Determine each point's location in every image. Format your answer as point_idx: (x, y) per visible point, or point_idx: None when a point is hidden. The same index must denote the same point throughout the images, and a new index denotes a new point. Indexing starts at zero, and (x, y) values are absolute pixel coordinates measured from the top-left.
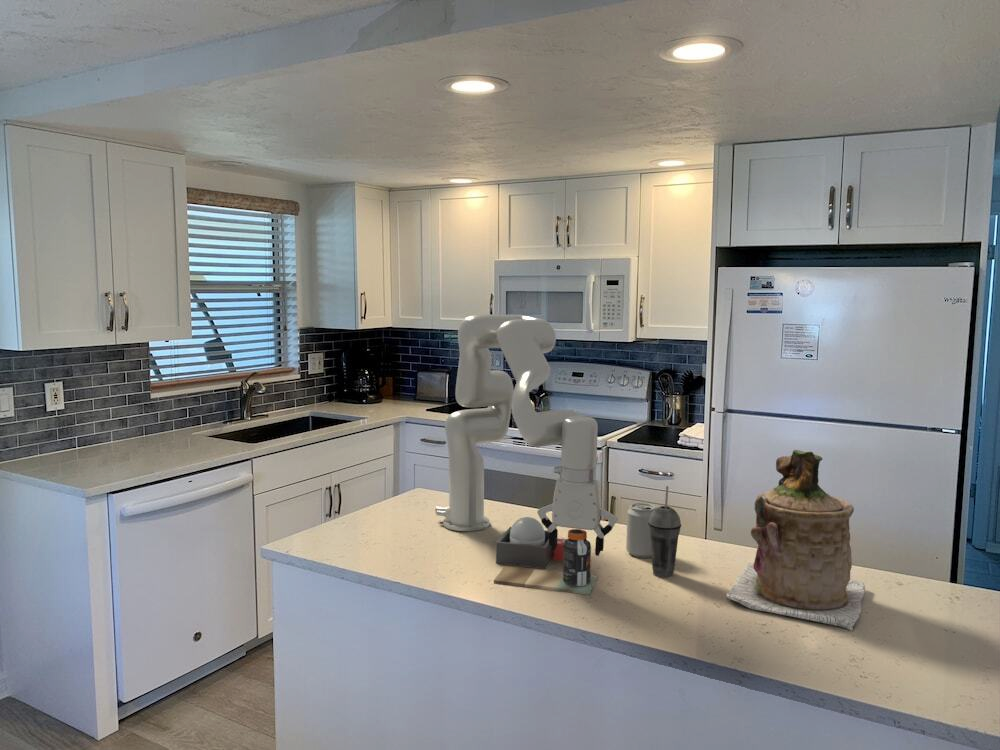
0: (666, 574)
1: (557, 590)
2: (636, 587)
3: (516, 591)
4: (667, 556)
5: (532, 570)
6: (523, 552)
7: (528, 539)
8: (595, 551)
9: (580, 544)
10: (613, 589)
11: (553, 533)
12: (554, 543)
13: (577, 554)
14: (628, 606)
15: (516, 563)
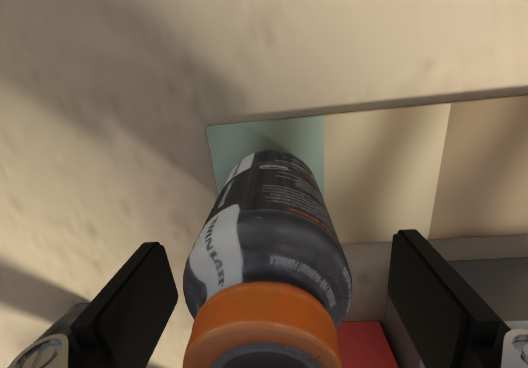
0: (69, 311)
1: (318, 115)
2: (109, 229)
3: (473, 42)
4: None
5: (434, 227)
6: (503, 295)
7: None
8: (151, 256)
9: (222, 261)
10: (157, 194)
11: (477, 318)
12: (414, 257)
13: (241, 204)
14: (59, 83)
15: (495, 263)
